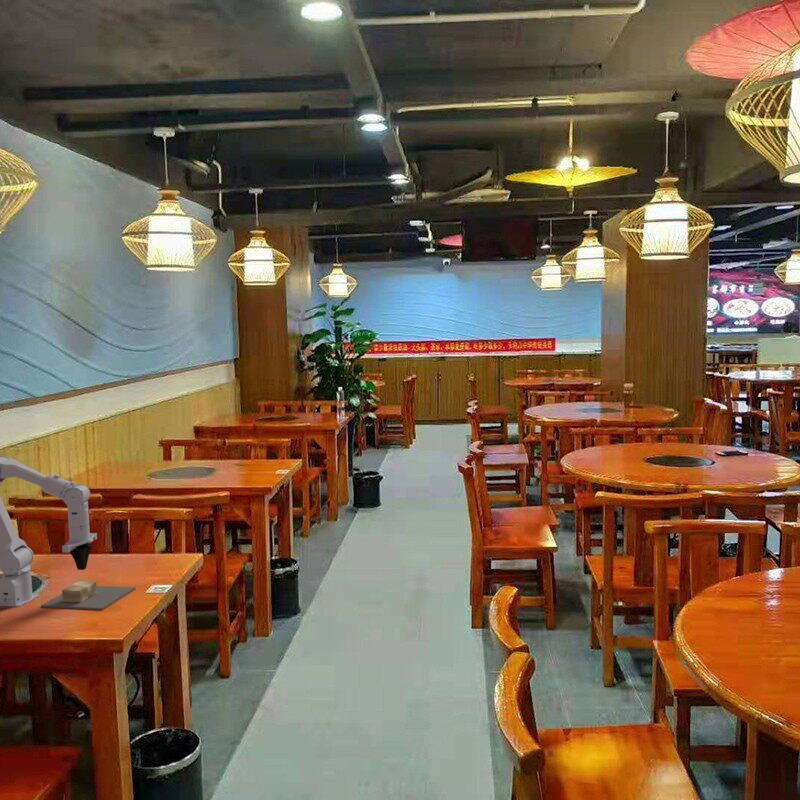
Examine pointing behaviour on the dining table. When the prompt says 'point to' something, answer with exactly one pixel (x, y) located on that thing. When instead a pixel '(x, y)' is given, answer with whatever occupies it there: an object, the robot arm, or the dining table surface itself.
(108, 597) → the mat
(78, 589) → the light wood block
